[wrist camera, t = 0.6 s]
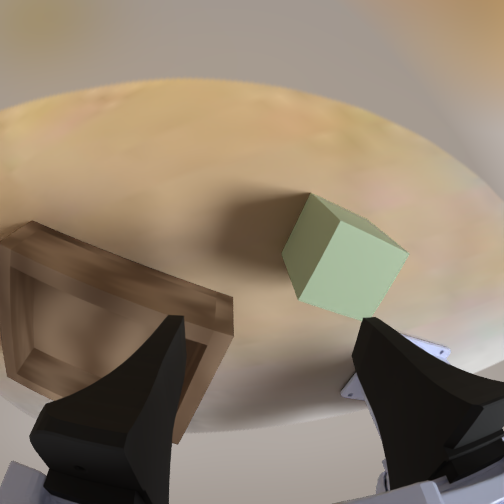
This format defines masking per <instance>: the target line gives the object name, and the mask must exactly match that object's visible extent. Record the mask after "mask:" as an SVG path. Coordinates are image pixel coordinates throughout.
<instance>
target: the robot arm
mask: <svg viewBox="0 0 504 504" xmlns="http://www.w3.org/2000/svg"><path fill="white" fill-rule="evenodd" d="M450 353H451V350H450V349H449V348H447V347H444V346H440V345H437V344H434V343H430V342H427V341H423V340H420V339H417V338H413V337H410V336H407V335H403V334H400V333H398V332H397V331H396V330H394V329H393V328H392V327H390V326H389V325H387V324H386V323H384V322H383V321H381V320H380V319H378V318H376V317H367V318H363V319H362V323H361V326H360V330H359V333H358V337H357V340H356V343H355V347H354V350H353V353H352V358H353V362H354V366H355V370H356V373H355V374H354V376H353V377H352V378H351V379H350V381H349V382H348V383H347V384H346V386H345V387H344V388H343V389H342V391H341V392H340V394H341V396H342V397H345V398H351V399H358V400H365V402H366V404H367V407H368V409H369V411H370V414H371V416H372V419H373V421H374V423H375V426H376V428H377V430H378V433H379V436H380V438H381V440H382V444H383V448H384V453H385V457H386V459H384V460H383V461H382V463H383V466H384V469H385V471H384V472H383V473H381V474H380V476H379V478H378V483H377V486H376V494H375V495H371V496H366V497H362V498H357V499H352V500H347V501H342V502H338V503H334V504H504V431H503V429H502V427H503V426H504V382H500V381H496V380H491V379H487V378H484V377H480V376H477V375H474V374H471V373H468V372H466V371H463V370H461V369H459V368H456V367H454V366H452V365H450V363H449V362H448V361H447V359H446V358H447V357H448V356H449V354H450ZM186 358H187V353H186V338H185V322H184V316H181V315H168V316H167V317H166V318H165V319H164V320H163V322H162V323H161V324H160V325H159V326H158V328H157V329H156V330H155V331H154V332H153V333H152V335H151V336H150V337H149V338H148V339H147V340H146V341H145V342H144V343H143V344H142V345H141V346H140V347H139V348H138V349H137V350H136V351H135V352H134V353H133V354H132V355H131V356H130V357H129V358H128V359H127V360H126V361H124V362H123V363H122V364H121V365H120V366H118V367H117V368H116V369H114V370H113V371H112V372H110V373H109V374H107V375H106V376H104V377H103V378H101V379H99V380H98V381H96V382H95V383H93V384H91V385H89V386H88V387H86V388H84V389H82V390H80V391H78V392H76V393H73V394H71V395H69V396H66V397H64V398H61V399H58V400H56V401H53V402H50V403H47V404H45V406H44V407H43V409H42V411H41V412H40V414H39V416H38V418H37V421H36V423H35V425H34V427H33V429H32V431H31V434H30V436H29V437H30V442H31V444H32V446H33V447H34V449H35V450H36V452H37V453H38V454H39V456H40V457H41V458H42V460H43V461H44V462H45V463H46V465H47V466H48V467H49V471H48V474H47V476H46V475H45V474H43V473H42V472H40V471H38V470H36V469H33V468H30V467H28V466H25V465H22V464H20V463H18V462H15V461H11V463H10V465H9V467H8V469H7V472H6V474H5V477H4V479H3V482H2V485H1V487H0V504H169V477H170V476H169V475H170V460H171V447H172V436H173V428H174V422H175V417H176V413H177V408H178V404H179V399H180V395H181V391H182V386H183V382H184V377H185V368H186Z"/></svg>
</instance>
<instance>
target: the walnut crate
mask: <svg viewBox="0 0 504 504" xmlns="http://www.w3.org/2000/svg"><path fill="white" fill-rule="evenodd" d="M168 315H181V316H184V322H185V338H186V353H187V358H186V368H185V377H184V382H183V386H182V391H181V395H180V399H179V404H178V408H177V413H176V417H175V422H174V428H173V436H172V443H174V444H178V443H179V442H180V440H181V438H182V436H183V434H184V432H185V430H186V429H187V427H188V425H189V423H190V421H191V419H192V417H193V415H194V413H195V411H196V409H197V408H198V406H199V404H200V402H201V400H202V398H203V396H204V394H205V392H206V390H207V388H208V386H209V384H210V382H211V380H212V378H213V377H214V375H215V373H216V371H217V369H218V367H219V365H220V363H221V361H222V359H223V357H224V355H225V353H226V351H227V349H228V347H229V345H230V343H231V341H232V339H233V337H234V325H233V297H230V296H227V295H224V294H222V293H219V292H216V291H213V290H210V289H207V288H204V287H201V286H199V285H196V284H193V283H190V282H187V281H184V280H182V279H179V278H176V277H173V276H171V275H168V274H165V273H162V272H160V271H157V270H154V269H152V268H149V267H146V266H144V265H141V264H138V263H136V262H133V261H130V260H128V259H125V258H123V257H120V256H117V255H115V254H112V253H110V252H107V251H105V250H102V249H100V248H97V247H95V246H92V245H90V244H87V243H85V242H82V241H80V240H77V239H75V238H72V237H70V236H68V235H65V234H63V233H60V232H58V231H56V230H53V229H51V228H48V227H46V226H44V225H41V224H39V223H37V222H34V221H31V222H29V223H28V224H26V225H25V226H23V227H21V228H20V229H18V230H17V231H15V232H14V233H12V234H10V235H9V236H7V237H6V238H4V239H3V240H1V241H0V331H1V340H2V348H3V355H4V361H5V367H6V373H7V377H9V378H11V379H13V380H14V381H16V382H18V383H20V384H22V385H24V386H26V387H27V388H29V389H31V390H33V391H35V392H37V393H39V394H41V395H43V396H45V397H47V398H49V399H52V400H54V401H56V400H58V399H61V398H64V397H66V396H69V395H71V394H73V393H76V392H78V391H80V390H82V389H84V388H86V387H88V386H89V385H91V384H93V383H95V382H96V381H98V380H99V379H101V378H103V377H104V376H106V375H107V374H109V373H110V372H112V371H113V370H114V369H116V368H117V367H118V366H120V365H121V364H122V363H123V362H124V361H126V360H127V359H128V358H129V357H130V356H131V355H132V354H133V353H134V352H135V351H136V350H137V349H138V348H139V347H140V346H141V345H142V344H143V343H144V342H145V341H146V340H147V339H148V338H149V337H150V336H151V335H152V333H153V332H154V331H155V330H156V329H157V328H158V326H159V325H160V324H161V323H162V322H163V320H164V319H165V318H166V317H167V316H168Z"/></svg>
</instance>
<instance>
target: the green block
mask: <svg viewBox="0 0 504 504" xmlns="http://www.w3.org/2000/svg"><path fill="white" fill-rule="evenodd" d="M281 254H282V257H283V260H284V263H285V265H286V268H287V271H288V274H289V276H290V279H291V282H292V285H293V287H294V290H295V293H296V296H297V299H298V300H299V301H302V302H305V303H308V304H311V305H314V306H317V307H320V308H323V309H326V310H329V311H332V312H335V313H338V314H341V315H344V316H347V317H351V318H354V319H357V320H360V321H362V319H363V318H367V317H372V315H373V314H374V312H375V311H376V309H377V307H378V306H379V304H380V303H381V301H382V300H383V298H384V296H385V295H386V293H387V291H388V290H389V288H390V287H391V285H392V283H393V282H394V280H395V278H396V276H397V275H398V273H399V271H400V270H401V268H402V266H403V264H404V263H405V261H406V259H407V257H408V256H409V253H408V252H407V251H406V250H404V249H403V248H402V247H401V246H400V245H398V244H397V243H396V242H395V241H394V240H392V239H391V238H390V237H389V236H388V235H386V234H385V233H384V232H383V231H381V230H380V229H379V228H378V227H376V226H375V225H374V224H373V223H371V222H370V221H369V220H367V219H365V218H363V217H361V216H359V215H357V214H355V213H353V212H351V211H349V210H347V209H345V208H343V207H341V206H339V205H337V204H334V203H332V202H330V201H328V200H326V199H324V198H322V197H319V196H317V195H315V194H313V193H310V195H309V197H308V199H307V202H306V204H305V206H304V208H303V210H302V212H301V214H300V216H299V218H298V220H297V222H296V224H295V226H294V229H293V231H292V233H291V235H290V237H289V239H288V241H287V243H286V245H285V247H284V249H283V251H282V253H281Z"/></svg>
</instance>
